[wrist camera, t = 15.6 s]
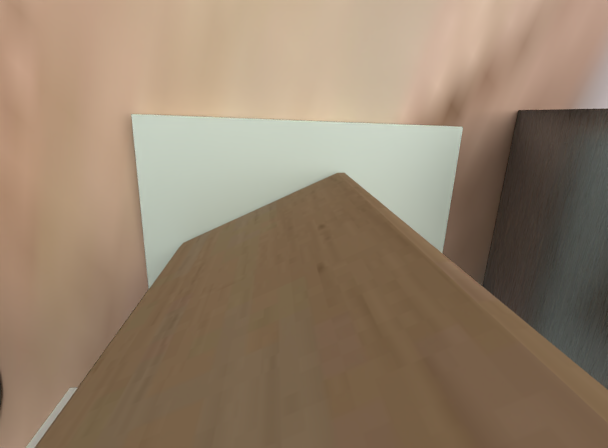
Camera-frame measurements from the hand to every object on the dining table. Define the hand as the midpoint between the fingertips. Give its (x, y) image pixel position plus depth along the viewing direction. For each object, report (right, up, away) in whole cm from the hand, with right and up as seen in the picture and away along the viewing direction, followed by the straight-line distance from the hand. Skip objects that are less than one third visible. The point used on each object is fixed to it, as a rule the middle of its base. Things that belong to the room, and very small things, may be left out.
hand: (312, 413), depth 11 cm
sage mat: (-1, +3, +10) cm, 11 cm away
